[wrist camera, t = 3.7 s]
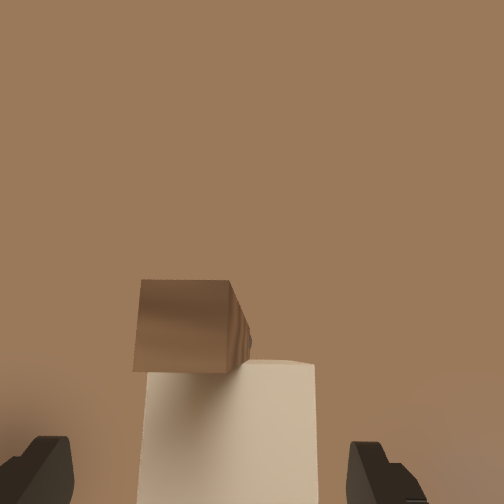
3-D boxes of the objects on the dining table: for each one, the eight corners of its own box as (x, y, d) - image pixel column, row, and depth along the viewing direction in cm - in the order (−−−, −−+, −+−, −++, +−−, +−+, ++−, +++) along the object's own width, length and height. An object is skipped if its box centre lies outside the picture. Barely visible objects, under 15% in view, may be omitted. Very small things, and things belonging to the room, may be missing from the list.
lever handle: (232, 373, 12) (235, 268, 12) (126, 372, 12) (136, 268, 13) (251, 359, 37) (252, 325, 38) (217, 358, 37) (219, 324, 38)
